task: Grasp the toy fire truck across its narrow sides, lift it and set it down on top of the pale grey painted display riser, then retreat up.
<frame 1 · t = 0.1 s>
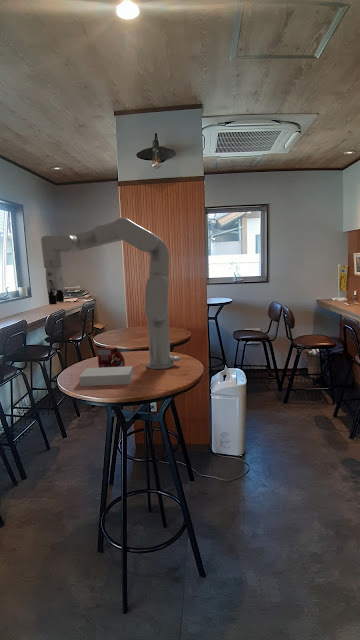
hand: (56, 302, 166), 31 cm above the table, fingers open, 9 cm apart
toy fire truck: (111, 370, 167), on the table
display riser: (107, 380, 154), on the table
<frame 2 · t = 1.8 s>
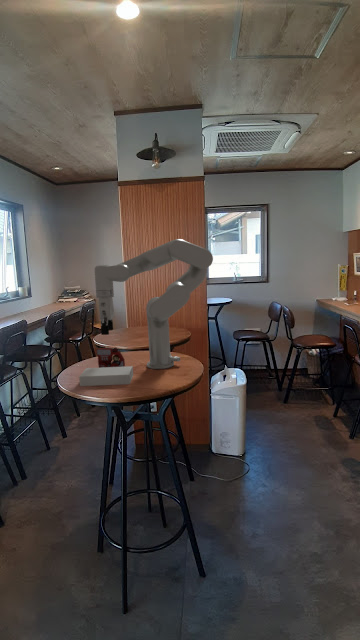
hand: (107, 332, 164), 18 cm above the table, fingers open, 9 cm apart
nothing on the table moved.
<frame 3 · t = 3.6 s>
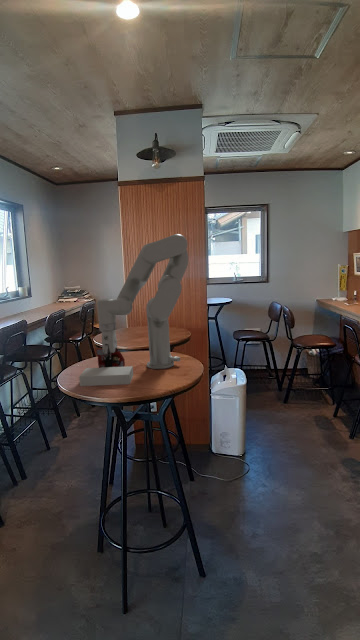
hand: (110, 364, 167), 2 cm above the table, fingers closed on toy fire truck, 7 cm apart
toy fire truck: (111, 370, 167), on the table, touching gripper
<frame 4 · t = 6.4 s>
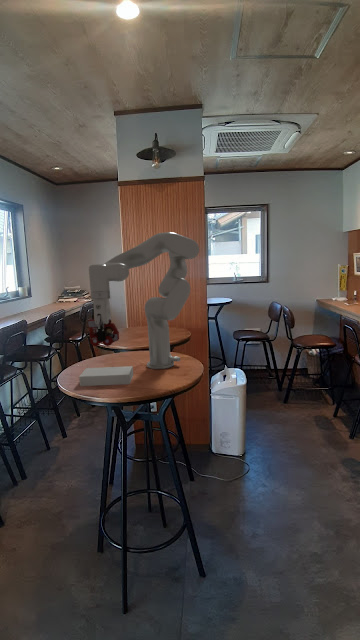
hand: (104, 338, 151), 18 cm above the table, fingers closed on toy fire truck, 7 cm apart
toy fire truck: (104, 344, 151), point 15 cm above the table, touching gripper
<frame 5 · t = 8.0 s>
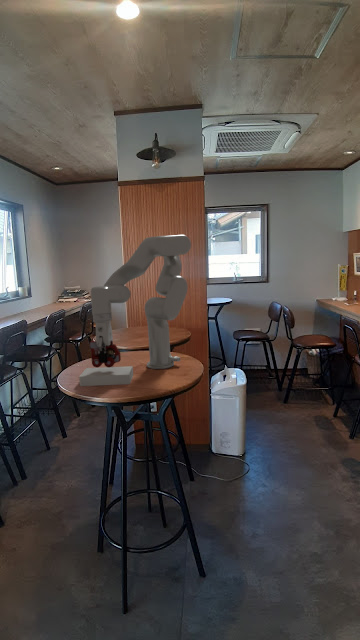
hand: (105, 359, 152), 9 cm above the table, fingers closed on toy fire truck, 7 cm apart
toy fire truck: (106, 365, 152), point 6 cm above the table, touching gripper
when the fingers open (8 cm above the table, at t = 9.3 s): toy fire truck drops 1 cm, resting on display riser.
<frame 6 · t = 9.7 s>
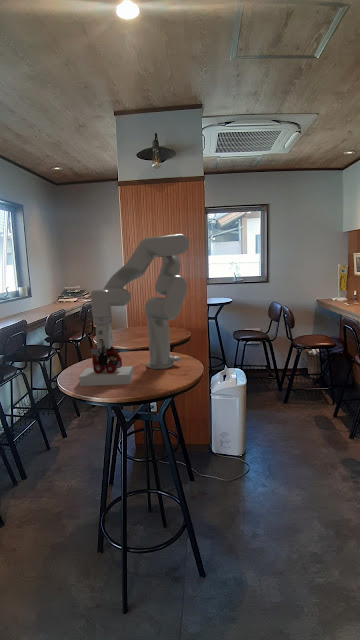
hand: (105, 361, 152), 8 cm above the table, fingers open, 9 cm apart
toy fire truck: (107, 371, 153), point 4 cm above the table, touching display riser
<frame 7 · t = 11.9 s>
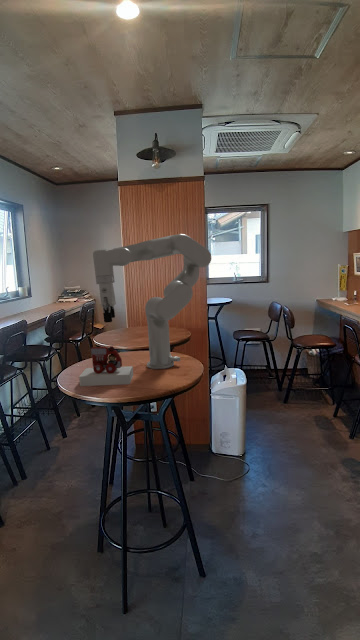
hand: (109, 319, 157), 24 cm above the table, fingers open, 9 cm apart
nothing on the table moved.
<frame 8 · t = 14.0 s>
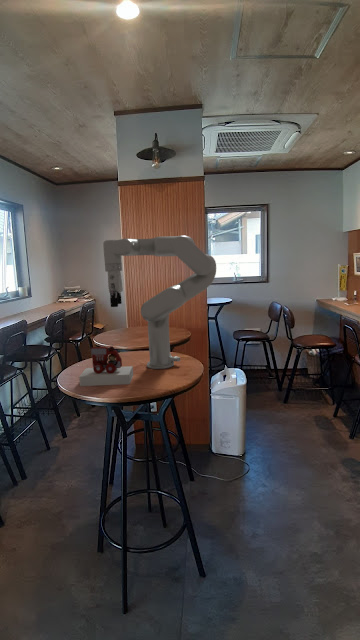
hand: (116, 305, 170), 28 cm above the table, fingers open, 9 cm apart
nothing on the table moved.
at the end: toy fire truck inside the target area on the display riser (0.2 cm from its centre), point 3.8 cm above the display riser's base; toy fire truck tilted 0°; the gripper is holding nothing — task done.
